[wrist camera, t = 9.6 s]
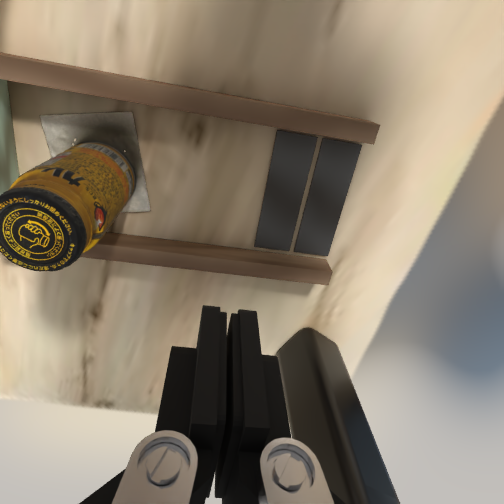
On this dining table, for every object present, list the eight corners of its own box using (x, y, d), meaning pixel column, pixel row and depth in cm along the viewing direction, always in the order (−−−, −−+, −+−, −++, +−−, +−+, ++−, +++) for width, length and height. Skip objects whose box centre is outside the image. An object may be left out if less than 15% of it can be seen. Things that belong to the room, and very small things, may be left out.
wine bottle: (307, 373, 43) (436, 858, 17) (272, 353, 41) (356, 865, 15) (340, 344, 41) (543, 838, 15) (305, 322, 39) (467, 844, 13)
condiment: (70, 214, 32) (-7, 288, 21) (40, 115, 28) (-73, 145, 17) (151, 210, 32) (115, 281, 22) (133, 110, 28) (78, 138, 18)
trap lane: (-19, 49, 26) (-48, 47, 23) (368, 120, 30) (382, 126, 27) (9, 234, 32) (-10, 249, 30) (322, 272, 36) (329, 288, 34)
